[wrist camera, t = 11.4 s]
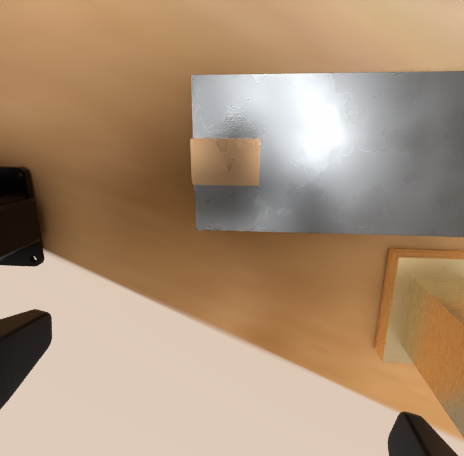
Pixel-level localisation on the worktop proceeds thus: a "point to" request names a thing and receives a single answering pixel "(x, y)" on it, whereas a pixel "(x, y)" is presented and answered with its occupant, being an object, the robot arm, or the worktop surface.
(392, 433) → the robot arm
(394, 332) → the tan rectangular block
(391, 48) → the worktop surface
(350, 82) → the brushed steel slab
